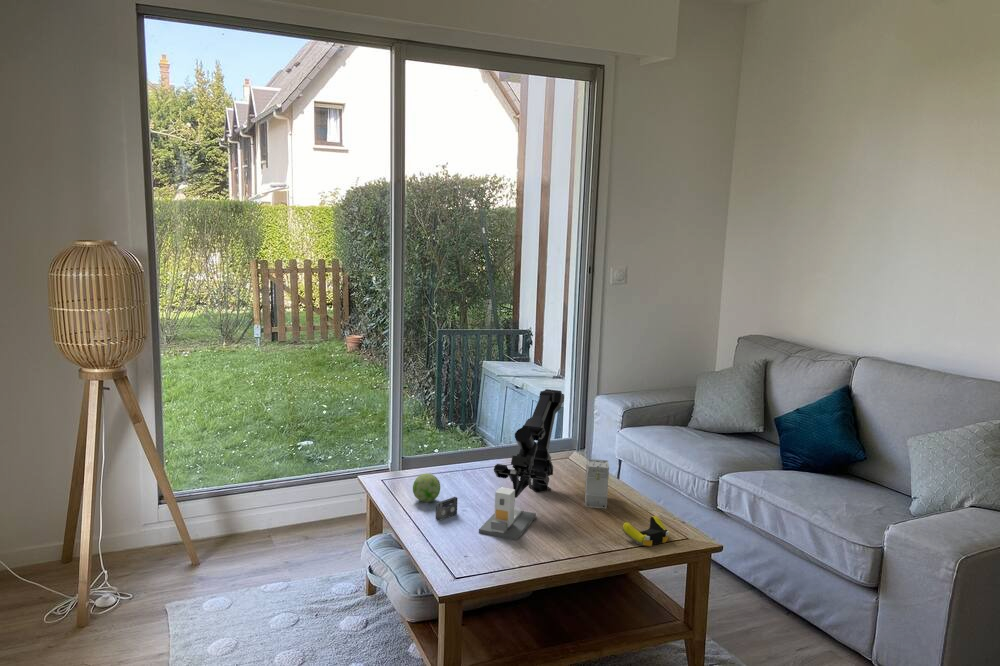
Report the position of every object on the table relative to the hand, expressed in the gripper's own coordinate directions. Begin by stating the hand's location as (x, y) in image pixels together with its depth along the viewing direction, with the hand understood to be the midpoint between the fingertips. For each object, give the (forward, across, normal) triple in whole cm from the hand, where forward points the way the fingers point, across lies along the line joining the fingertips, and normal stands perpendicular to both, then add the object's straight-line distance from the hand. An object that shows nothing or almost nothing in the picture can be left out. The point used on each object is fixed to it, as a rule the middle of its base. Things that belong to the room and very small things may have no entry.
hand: (515, 497), depth 243 cm
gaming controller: (+4, +45, +6) cm, 45 cm away
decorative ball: (+5, -33, +5) cm, 34 cm away
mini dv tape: (+12, -21, -1) cm, 24 cm away
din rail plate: (+10, 0, 0) cm, 10 cm away
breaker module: (+12, 0, -4) cm, 12 cm away
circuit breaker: (-14, +22, +25) cm, 36 cm away
